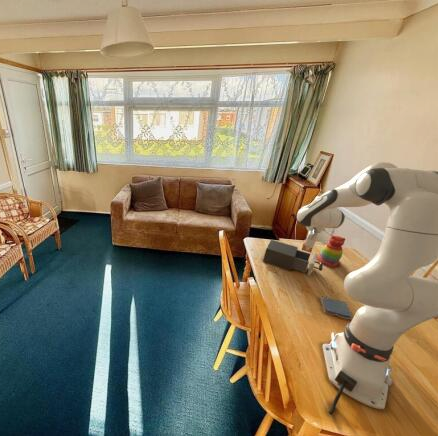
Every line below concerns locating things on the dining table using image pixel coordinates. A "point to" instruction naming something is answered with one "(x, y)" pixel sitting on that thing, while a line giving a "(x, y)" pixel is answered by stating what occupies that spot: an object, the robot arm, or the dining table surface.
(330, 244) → the stacking bear
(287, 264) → the cabinet
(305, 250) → the block
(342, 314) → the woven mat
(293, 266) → the drawer
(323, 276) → the dining table surface
